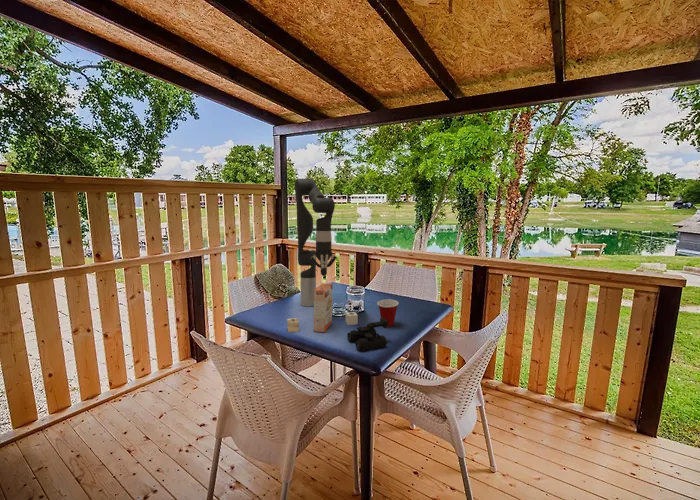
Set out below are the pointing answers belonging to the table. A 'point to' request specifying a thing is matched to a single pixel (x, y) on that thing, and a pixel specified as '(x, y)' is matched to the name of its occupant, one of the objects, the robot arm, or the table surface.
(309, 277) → the robot arm
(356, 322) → the beige wooden cube
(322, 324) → the cracker box
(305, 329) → the table surface
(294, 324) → the birch block
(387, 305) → the plastic cup
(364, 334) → the night vision goggles
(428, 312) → the table surface
